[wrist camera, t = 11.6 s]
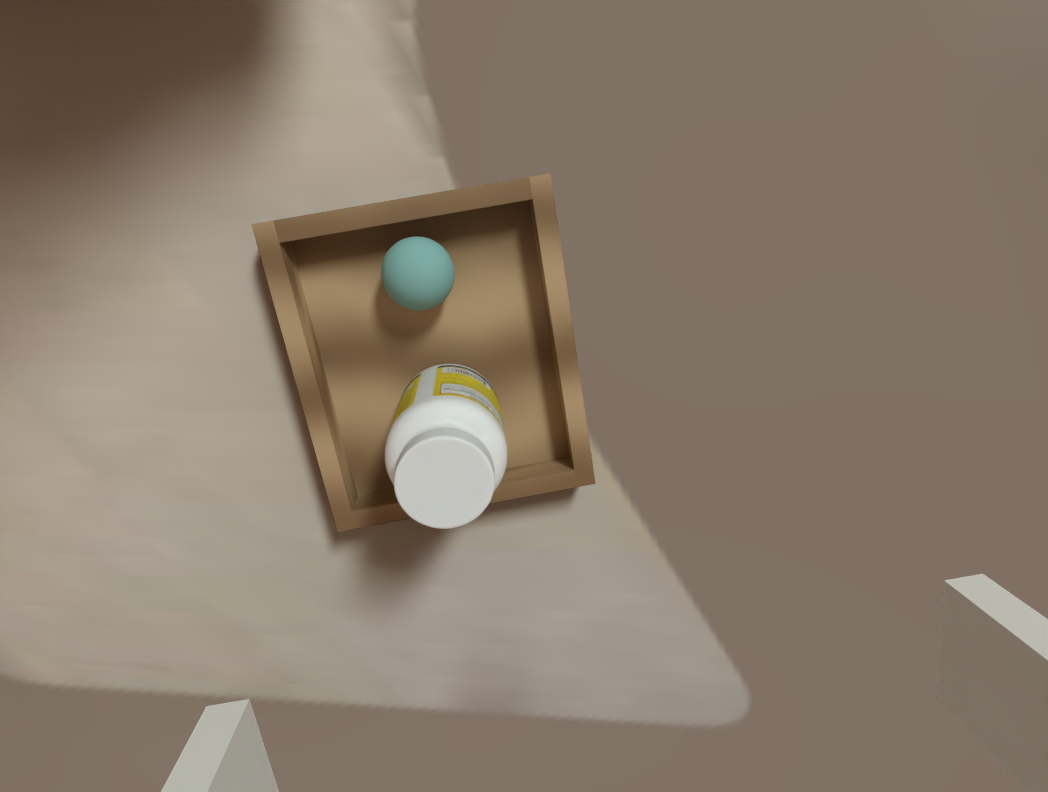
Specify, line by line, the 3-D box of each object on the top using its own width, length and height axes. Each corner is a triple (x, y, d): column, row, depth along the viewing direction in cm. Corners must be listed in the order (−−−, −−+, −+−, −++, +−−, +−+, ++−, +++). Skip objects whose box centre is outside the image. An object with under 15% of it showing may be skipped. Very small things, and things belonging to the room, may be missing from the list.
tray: (268, 224, 31) (251, 224, 29) (544, 176, 32) (550, 173, 29) (346, 511, 36) (337, 532, 33) (587, 465, 36) (595, 483, 34)
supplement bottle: (421, 470, 35) (403, 563, 25) (384, 380, 33) (350, 444, 24) (513, 438, 35) (529, 520, 25) (481, 348, 33) (485, 398, 24)
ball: (379, 242, 31) (367, 244, 28) (448, 230, 31) (445, 231, 28) (394, 310, 32) (385, 321, 29) (461, 298, 32) (460, 308, 29)
